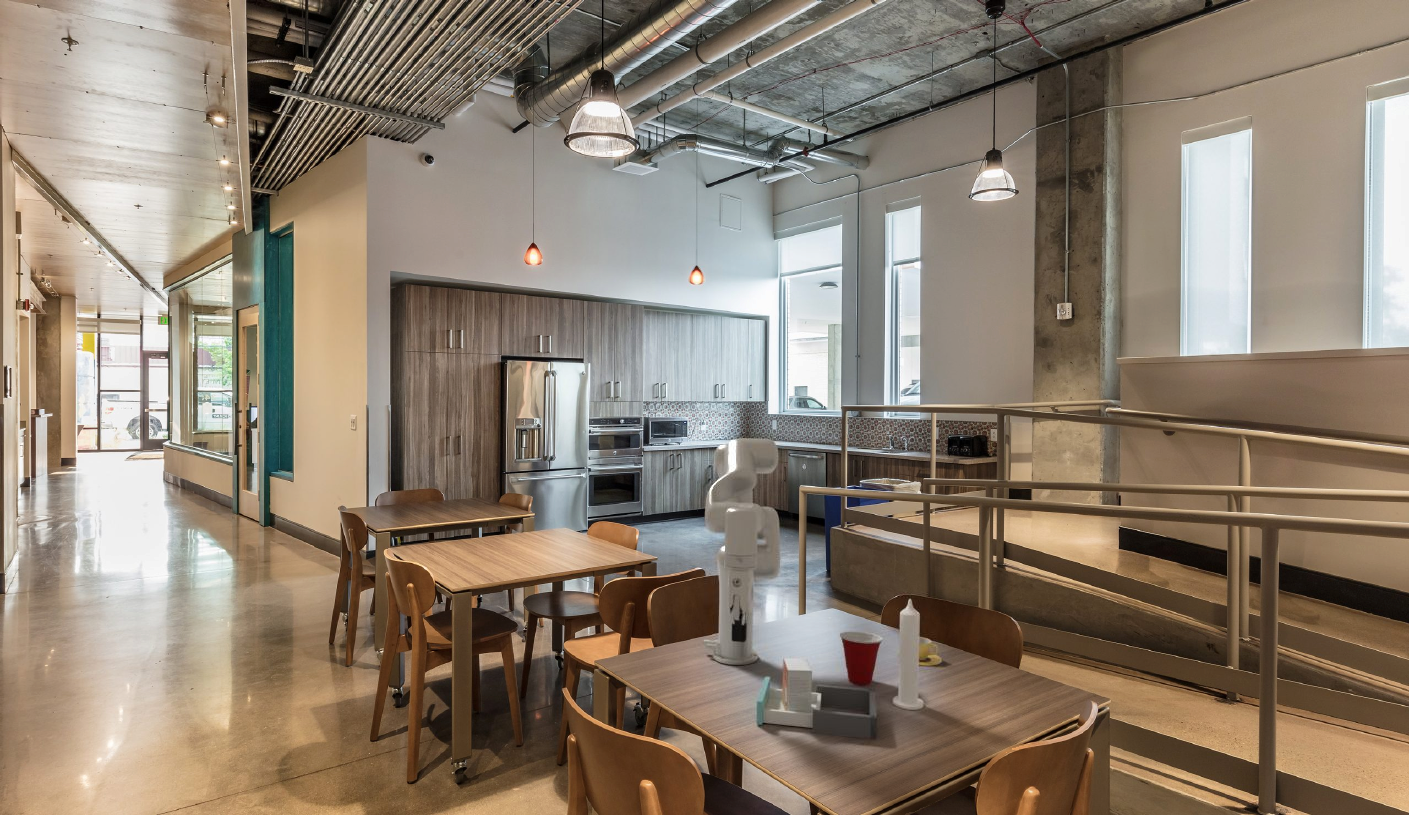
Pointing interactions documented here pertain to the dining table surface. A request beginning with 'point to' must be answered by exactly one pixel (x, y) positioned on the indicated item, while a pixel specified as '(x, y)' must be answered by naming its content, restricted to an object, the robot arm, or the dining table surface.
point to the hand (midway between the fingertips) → (738, 640)
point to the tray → (782, 708)
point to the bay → (846, 721)
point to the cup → (927, 652)
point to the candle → (909, 660)
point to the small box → (797, 685)
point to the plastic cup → (860, 655)
